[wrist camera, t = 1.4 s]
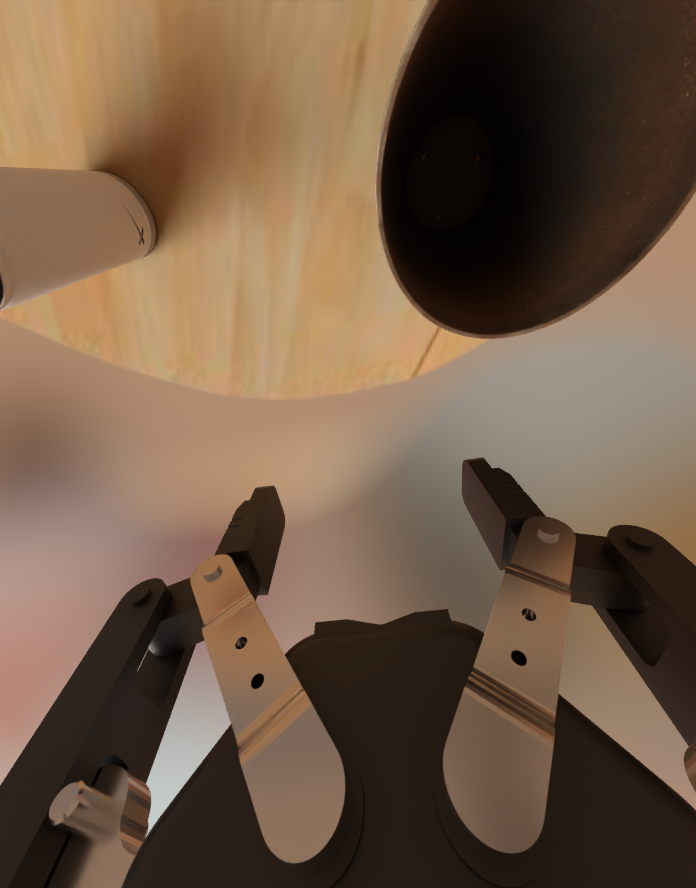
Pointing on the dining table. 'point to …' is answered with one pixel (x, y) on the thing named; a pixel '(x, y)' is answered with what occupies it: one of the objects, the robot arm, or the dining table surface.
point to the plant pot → (534, 155)
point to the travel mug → (66, 229)
